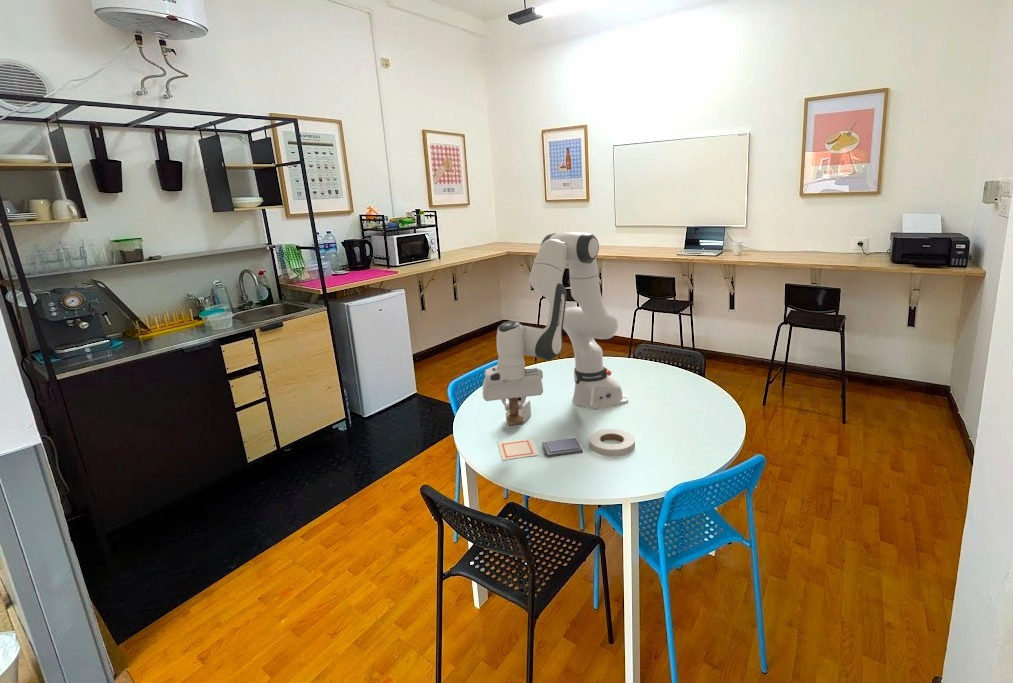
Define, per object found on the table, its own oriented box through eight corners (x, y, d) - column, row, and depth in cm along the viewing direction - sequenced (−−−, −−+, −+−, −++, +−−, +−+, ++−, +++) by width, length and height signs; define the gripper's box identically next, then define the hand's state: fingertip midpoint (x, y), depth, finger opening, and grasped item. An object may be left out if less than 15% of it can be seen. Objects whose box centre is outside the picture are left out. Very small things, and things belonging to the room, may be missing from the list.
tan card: (530, 439, 184) (530, 438, 184) (537, 455, 173) (537, 454, 173) (497, 443, 183) (497, 442, 183) (502, 460, 171) (502, 459, 171)
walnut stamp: (520, 418, 177) (519, 388, 174) (523, 424, 172) (521, 394, 169) (506, 420, 177) (504, 390, 173) (508, 426, 172) (506, 395, 169)
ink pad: (575, 440, 181) (575, 436, 180) (583, 453, 172) (582, 449, 172) (542, 445, 179) (542, 441, 179) (548, 457, 171) (547, 453, 170)
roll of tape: (586, 436, 184) (586, 429, 183) (629, 434, 183) (629, 427, 182) (592, 458, 169) (592, 450, 168) (639, 456, 168) (639, 448, 167)
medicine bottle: (531, 415, 203) (529, 387, 199) (524, 423, 197) (522, 394, 193) (514, 413, 206) (513, 385, 202) (507, 420, 200) (505, 392, 196)
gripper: (540, 364, 173) (542, 402, 177) (480, 370, 171) (483, 408, 175) (544, 370, 167) (546, 409, 171) (482, 377, 165) (485, 416, 169)
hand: (513, 409), depth 173 cm, fingers closed on walnut stamp, 3 cm apart
